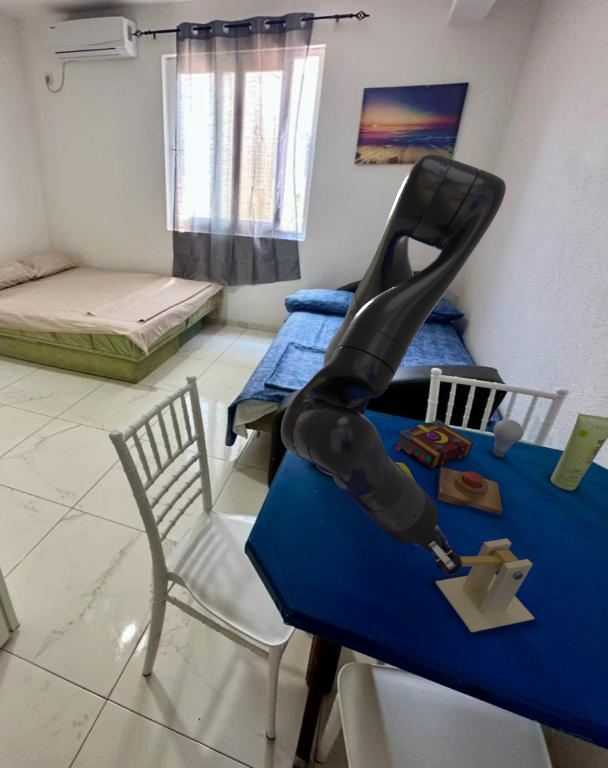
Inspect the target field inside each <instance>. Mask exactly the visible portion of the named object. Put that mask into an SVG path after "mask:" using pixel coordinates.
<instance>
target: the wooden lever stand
mask: <svg viewBox="0 0 608 768" xmlns="http://www.w3.org/2000/svg"><path fill="white" fill-rule="evenodd" d="M511 546H512V542H511V541H510V540H509V539H508V538H501V539H495V540H488V541H484V542H483V544H482V545H481V547H480V550H479V551H478V554H477V556H492V554H493V553H494V552H495V550H509V549H510V547H511ZM518 560H519V561H514V562H508V563H504V564H503V565H502V567H501V569H500V571H498V570H497V569H496V568H495V567H494V566H471V567H470V571H469V572H468V574H467V575H463V576H457V577H452V578H446V579H441V580H436V581H435V582H434V583H435V585H436V586H437V587H438V588H439V590H440V591H441V593H442V594H443V595H444V597H445V598H446V599H447V601H448V602H449V604H450V605H451V607H452V608H453V609H454V610H455V612H456V614H457V615H458V616H459V617H460V619H461V620H462V622H463V623H464V625H465V627H467V629H468V630H469V632H470V633H477V632H481V631H486V630H491V629H495V628H500V627H504V626H510V625H514V624H518V623H523V622H528V621H533V620H535V617H534V615H532V613H531V612H530V611H529V610H528V608H526V606H525V605H524V604H523V603H522V602H521V600H520V599H518V598H517V596H516V594H517V592H518V591H519V589H520V587H521V585H522V584H523V582H524V581H525V579H526V577H527V576H528V573H529V572H530V570H531V568H532V567H533V563H532V562H531V561H530V560H529V559H528V558H526V559H518ZM497 572H498V573H497Z"/></svg>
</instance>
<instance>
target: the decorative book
mask: <svg viewBox="0 0 608 768" xmlns="http://www.w3.org/2000/svg"><path fill="white" fill-rule="evenodd" d="M398 436H400V438H399V441H397V442H395V443H394V444H395V446H396V447H395V448H394V450H396V451H398V452H400V451H401V450H402V451H404V452H405V453H407V454H408V455H410V456H412V457H413V458H414V459H416V460H417V461H419V462H420V463H421V464H423V465H424V466H426V467H427V468H429V469H433V468H435V467H438V468H441V467H444V466H445V465H446V463H449V462H452V461H454V460H456V461H458V460H461V459H463V457H465V456H467V455H470V452H471V450H472V449H473V445H474V441H473V440H472V439H469V438H468V437H467V436H464V435H463V434H461V433H459V432H458V431H456V430H454V429H453V428H451V426H449V425H447V424H446V423H445V422H443V421H442V420H439V419H436V420H433V421H430V422H428V423H427V424H418V425H416V427H414V428H411V429H410V428H408V429H405V430H400V431H399V432H398Z"/></svg>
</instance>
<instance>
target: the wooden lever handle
mask: <svg viewBox="0 0 608 768" xmlns="http://www.w3.org/2000/svg"><path fill="white" fill-rule="evenodd" d="M457 556H458V557H459V559H460V561H461V563H460V564H458V565H457V566H455V567H454V568H452V569H451V570H450V571H448V572H447V573H444V572H443V571H441V570H440V567H439V565H438V563H437V562H436V561H435V559H436V556H435V555H434V563H435V565H436V567H437V569H438V570H439V571H440V572H442V573H443V574H445V575H447V576H453V575H457V574H459V573H460V571H462V568H463V567H464V568H465V567H472V566H494V567H495V568H496V569H497V572H499V571H500V569H501V567H502V565H503V564H504V563H508V562H514V561H519V560H520V559H518V557H516V555H514V553H513V552H512V551H511V550H509V549H508V550H495V552H494V553H493V554H492V556H478V555H474V556H473V555H472V556H471V555H469V556H468V555H466V556H460V555H459V554H458V553H457Z"/></svg>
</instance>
